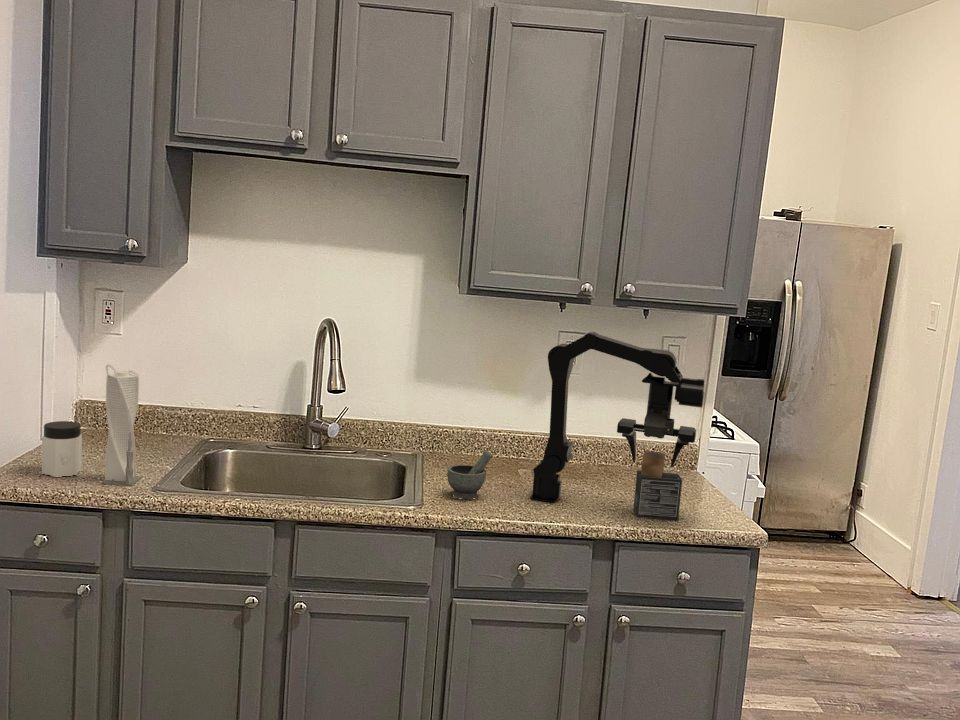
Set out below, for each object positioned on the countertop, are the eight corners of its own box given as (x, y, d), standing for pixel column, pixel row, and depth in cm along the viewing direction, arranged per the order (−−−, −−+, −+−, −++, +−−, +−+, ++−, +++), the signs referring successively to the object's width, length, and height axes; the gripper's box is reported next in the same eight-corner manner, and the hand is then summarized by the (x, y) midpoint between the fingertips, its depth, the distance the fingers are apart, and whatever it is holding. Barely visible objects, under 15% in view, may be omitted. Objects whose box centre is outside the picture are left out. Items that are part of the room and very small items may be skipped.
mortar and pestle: (448, 501, 230) (451, 454, 228) (442, 490, 239) (446, 444, 237) (493, 502, 232) (497, 455, 230) (486, 491, 241) (489, 446, 239)
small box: (674, 513, 236) (678, 472, 234) (678, 521, 229) (683, 479, 228) (632, 509, 236) (636, 469, 234) (635, 517, 230) (640, 476, 228)
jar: (45, 479, 221) (46, 429, 220) (38, 470, 228) (38, 422, 226) (85, 475, 227) (86, 427, 225) (77, 467, 233) (78, 420, 231)
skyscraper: (95, 483, 221) (98, 366, 217) (108, 474, 229) (111, 361, 225) (131, 486, 221) (134, 369, 217) (143, 477, 229) (146, 364, 225)
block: (640, 474, 229) (642, 455, 229) (642, 470, 234) (645, 450, 233) (661, 477, 228) (663, 458, 227) (663, 473, 233) (665, 453, 232)
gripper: (617, 402, 223) (610, 466, 225) (696, 413, 218) (689, 477, 220) (623, 395, 234) (616, 456, 236) (699, 405, 229) (692, 467, 231)
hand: (652, 464), depth 231 cm, fingers open, 9 cm apart
